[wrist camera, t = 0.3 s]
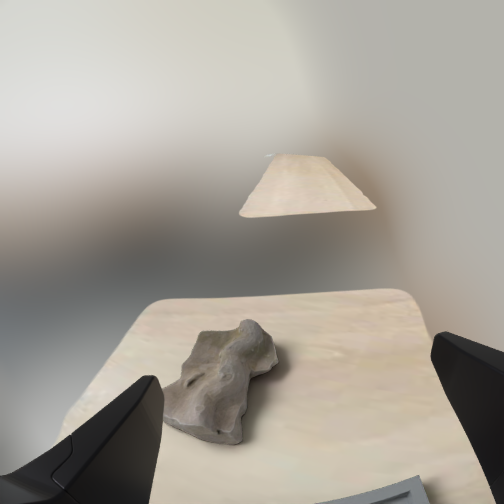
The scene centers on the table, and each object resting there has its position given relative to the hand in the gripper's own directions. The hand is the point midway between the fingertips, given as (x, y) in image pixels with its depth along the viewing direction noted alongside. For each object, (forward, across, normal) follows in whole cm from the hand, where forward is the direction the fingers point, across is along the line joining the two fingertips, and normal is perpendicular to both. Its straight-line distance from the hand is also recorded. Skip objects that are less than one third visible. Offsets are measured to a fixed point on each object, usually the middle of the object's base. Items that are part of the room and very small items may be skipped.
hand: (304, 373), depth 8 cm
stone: (+16, +6, +15) cm, 23 cm away
